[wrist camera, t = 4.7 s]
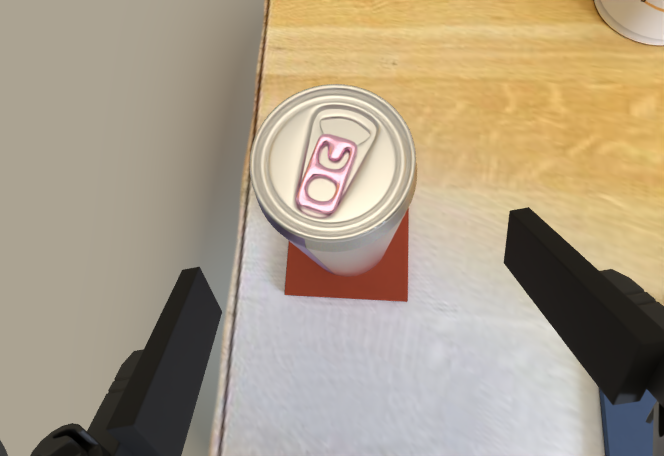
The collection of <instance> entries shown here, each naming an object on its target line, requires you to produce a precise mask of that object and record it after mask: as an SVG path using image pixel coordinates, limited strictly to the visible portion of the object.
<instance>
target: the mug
mask: <svg viewBox="0 0 664 456" xmlns="http://www.w3.org/2000/svg"><path fill="white" fill-rule="evenodd" d="M594 3H595V6H596V8H597V10H598V12H599V14H600V15H601V17H602V18H603V20H604V21H605V22H606V23H607V24H608V25H609V26H610V27H611V28H613V29H614V30H615V31H617V32H618V33H620V34H621V35H623V36H625V37H627V38H629V39H632V40H634V41H637V42H641V43H645V44H651V45H664V0H594Z"/></svg>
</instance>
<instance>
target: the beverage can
mask: <svg viewBox="0 0 664 456" xmlns="http://www.w3.org/2000/svg"><path fill="white" fill-rule="evenodd" d="M250 176H251V181H252V185H253V189H254V192H255V194H256V197H257V200H258V203H259V206H260V208H261V210H262V212H263V213H264V215H265V217H266V218H267V220H268V221H269V222H270V224H271V225H272V226H273V227H274V228H275V229H276V230H277V231H278V232H279V233H280V234H282V235H283V236H284V237H285V238H286V239H288V240H289V241H290V242H291V243H293V244H294V245H295V246H296V247H297V248H299V249H300V250H301V251H302V252H304V253H305V254H306V255H307V256H308V257H310V258H311V259H312V260H313V261H315V262H316V263H317V264H318V265H319V266H321V267H322V268H323V269H325V270H326V271H328V272H330V273H332V274H335V275H338V276H345V277H350V276H357V275H360V274H363V273H366V272H367V271H369V270H371V269H372V268H373V267H375V266H376V265H377V264H378V263H379V261H380V260H381V259H382V257H383V255H384V254H385V252H386V250H387V248H388V246H389V244H390V242H391V240H392V238H393V236H394V234H395V232H396V230H397V228H398V227H399V225H400V223H401V221H402V219H403V217H404V215H405V213H406V211H407V209H408V207H409V205H410V203H411V201H412V198H413V195H414V192H415V187H416V181H417V163H416V151H415V145H414V141H413V138H412V135H411V132H410V130H409V128H408V126H407V124H406V122H405V121H404V119H403V118H402V116H401V115H400V114H399V113H398V111H397V110H396V109H395V108H394V107H393V106H392V105H391V104H389V103H388V102H387V101H386V100H384V99H383V98H381V97H380V96H378V95H376V94H374V93H372V92H370V91H368V90H365V89H362V88H359V87H355V86H350V85H342V84H329V85H321V86H316V87H312V88H308V89H306V90H303V91H301V92H298V93H296V94H294V95H292V96H291V97H289V98H287V99H286V100H285V101H283V102H282V103H281V104H279V105H278V106H277V107H276V108H275V109H274V110H273V111H272V112H271V113H270V114H269V115H268V116H267V118H266V119H265V120H264V122H263V123H262V125H261V127H260V128H259V130H258V132H257V134H256V137H255V139H254V142H253V145H252V150H251V155H250Z"/></svg>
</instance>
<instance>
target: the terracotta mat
mask: <svg viewBox="0 0 664 456" xmlns="http://www.w3.org/2000/svg"><path fill="white" fill-rule="evenodd" d="M408 210H409V207H408V209H407V211H406V213H405V215H404V217H403V219H402V221H401V223H400V225H399V227H398V228H397V230H396V232H395V234H394V236H393V238H392V240H391V242H390V244H389V246H388V248H387V250H386V252H385V254H384V255H383V257H382V259H381V260H380V261H379V263H378V264H377V265H376V266H375V267H373V268H372V269H371V270H369V271H367V272H366V273H363V274H360V275H357V276H350V277H345V276H338V275H335V274H332V273H330V272H328V271H326V270H325V269H323V268H322V267H321V266H319V265H318V264H317V263H316V262H315V261H313V260H312V259H311V258H310V257H308V256H307V255H306V254H305V253H304V252H302V251H301V250H300V249H299V248H297V247H296V246H295V245H294V244H293V243H291V242H290V241H289V245H288V258H287V270H286V283H285V295H297V296H315V297H333V298H351V299H369V300H387V301H405V302H407V301H408Z"/></svg>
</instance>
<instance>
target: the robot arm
mask: <svg viewBox="0 0 664 456" xmlns="http://www.w3.org/2000/svg"><path fill="white" fill-rule="evenodd" d="M504 264H505V265H506V266H507V268H508V269H509V270H510V272H511V273H512V274H513V276H514V277H515V278H516V280H517V281H518V282H519V283H520V285H521V286H522V287H523V289H524V290H525V291H526V293H527V294H528V295H529V297H530V298H531V299H532V300H533V302H534V303H535V304H536V306H537V307H538V308H539V310H540V311H541V312H542V314H543V315H544V316H545V317H546V319H547V320H548V321H549V323H550V324H551V325H552V327H553V328H554V329H555V330H556V332H557V333H558V334H559V336H560V337H561V338H562V340H563V341H564V342H565V344H566V345H567V346H568V347H569V349H570V350H571V351H572V353H573V354H574V355H575V357H576V358H577V359H578V361H579V362H580V363H581V364H582V366H583V367H584V368H585V370H586V371H587V372H588V374H589V375H590V376H591V378H592V379H593V380H594V381H595V383H596V384H597V385H598V387H599V388H600V389H601V391H602V392H603V393H604V395H605V396H606V397H607V398H608V400H609V401H610V402H611V404H612V405H618V404H625V403H632V402H638V401H640V400H641V398H642V397H643V395H644V393H645V391H646V389H647V390H648V391H649V392H650V393H651V394H652V395H653V397H654V398H655V399H656V400H657V401H656V403H655V404H654V406H653V408H652V409H651V411H650V413H649V415H648V416H647V419H646V422H647V423H649V424H651V422H652V421H653V419H654V421H653V456H664V306H663V305H661V304H660V303H659V302H656V301H655V299H654V298H653V297H652V296H651V295H650V294H648V293H647V292H644V289H642V288H641V287H640V286H639V285H638V284H636V283H635V282H634V281H633V280H632V279H630V278H629V277H627V276H625V275H623V274H621V273H619V272H617V271H615V270H613V269H609V270H603V271H598V270H597V269H596V268H595V267H594V266H593V265H592V264H591V263H590V262H589V261H587V260H586V259H585V258H584V257H583V256H582V255H581V254H580V253H579V252H577V251H576V250H575V249H574V248H573V247H572V246H571V245H570V244H569V243H568V242H566V241H565V240H564V239H563V238H562V237H561V236H560V235H559V234H558V233H557V232H555V231H554V230H553V229H552V228H551V227H550V226H549V225H548V224H547V223H545V222H544V221H543V220H542V219H541V218H540V217H539V216H538V215H537V214H536V213H534V212H533V211H532V210H531V209H530V208H529V207H528V208H522V209H517V210H511V211H510V214H509V222H508V231H507V239H506V248H505V256H504ZM221 314H222V311H221V309H220V307H219V305H218V303H217V301H216V299H215V297H214V295H213V293H212V291H211V289H210V287H209V285H208V283H207V281H206V279H205V277H204V275H203V273H202V271H201V269H200V267H196V268H190V269H185V270H182V272H181V274H180V276H179V278H178V280H177V282H176V284H175V286H174V288H173V290H172V293H171V295H170V297H169V299H168V301H167V303H166V305H165V307H164V309H163V311H162V313H161V315H160V318H159V319H158V321H157V324H156V326H155V328H154V330H153V332H152V334H151V336H150V338H149V340H148V342H147V344H146V346H145V349H144V350H138V351H134V352H133V353H132V354H131V355H130V356H129V357H128V359H127V360H126V361H125V362H124V363H123V364H122V365H121V367H120V369H119V371H118V373H117V375H116V377H115V381H114V382H113V383H112V385H111V387H110V388H109V393H108V394H106V396H105V398H104V400H103V402H102V404H101V406H100V407H99V409H98V411H97V413H96V415H95V417H94V419H93V421H92V423H91V425H90V427H89V429H88V430H87V431H85V430H84V429H83V428H82V427H81V426H80V425H78V424H73V423H72V424H68V425H64V426H62V427H60V428H58V429H56V430H54V431H53V432H51V433H50V434H49V435H48V436H46V437H45V438H44V439H43V440H42V441H41V442H40V443H39V444H38V446H37V447H36V448H35V449H34V450H33V452H32V454H31V456H181V454H182V451H183V447H184V444H185V440H186V437H187V433H188V430H189V426H190V423H191V419H192V416H193V412H194V409H195V405H196V401H197V398H198V395H199V391H200V387H201V384H202V381H203V377H204V374H205V370H206V366H207V363H208V360H209V356H210V352H211V349H212V345H213V342H214V338H215V335H216V331H217V328H218V324H219V321H220V317H221Z"/></svg>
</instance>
